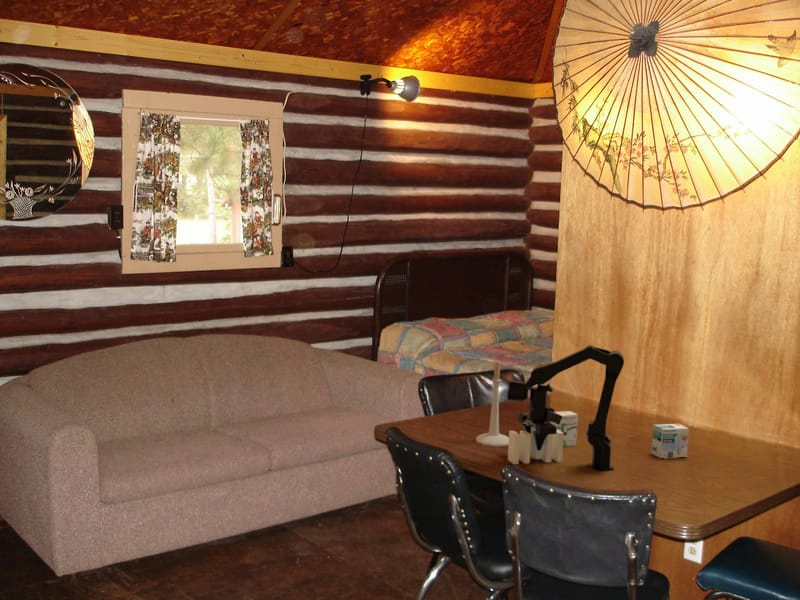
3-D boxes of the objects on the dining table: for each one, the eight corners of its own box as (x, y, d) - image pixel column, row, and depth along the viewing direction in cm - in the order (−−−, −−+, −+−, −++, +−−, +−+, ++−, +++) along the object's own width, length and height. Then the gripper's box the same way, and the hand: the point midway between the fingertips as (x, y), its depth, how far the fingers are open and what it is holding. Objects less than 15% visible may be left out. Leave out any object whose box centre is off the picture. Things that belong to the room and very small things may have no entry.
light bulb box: (660, 459, 313) (663, 429, 312) (650, 453, 320) (652, 424, 319) (687, 457, 316) (690, 428, 315) (677, 452, 323) (679, 423, 321)
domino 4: (551, 462, 305) (552, 433, 303) (546, 462, 304) (547, 433, 303) (544, 457, 309) (546, 429, 308) (540, 458, 309) (541, 429, 308)
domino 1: (518, 463, 301) (520, 434, 300) (513, 464, 301) (515, 435, 300) (512, 459, 306) (514, 430, 305) (507, 459, 306) (509, 431, 304)
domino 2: (529, 463, 302) (531, 434, 301) (524, 463, 302) (526, 434, 301) (523, 458, 307) (525, 430, 306) (518, 459, 307) (520, 430, 305)
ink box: (557, 447, 323) (559, 415, 322) (549, 443, 327) (551, 412, 326) (576, 445, 327) (578, 413, 326) (568, 441, 331) (570, 410, 330)
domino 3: (540, 458, 303) (542, 429, 302) (535, 459, 303) (537, 430, 302) (534, 454, 308) (535, 426, 307) (529, 454, 308) (531, 426, 306)
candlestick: (470, 437, 332) (473, 357, 328) (501, 435, 336) (505, 356, 333) (485, 447, 320) (489, 364, 316) (517, 444, 324) (521, 363, 321)
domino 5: (561, 461, 306) (563, 433, 305) (557, 461, 305) (558, 433, 304) (555, 457, 311) (557, 429, 309) (550, 457, 310) (552, 429, 309)
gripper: (572, 408, 297) (569, 454, 298) (547, 396, 314) (545, 439, 316) (541, 410, 294) (539, 456, 295) (518, 397, 311) (516, 440, 313)
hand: (535, 448), depth 305 cm, fingers closed on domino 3, 5 cm apart
